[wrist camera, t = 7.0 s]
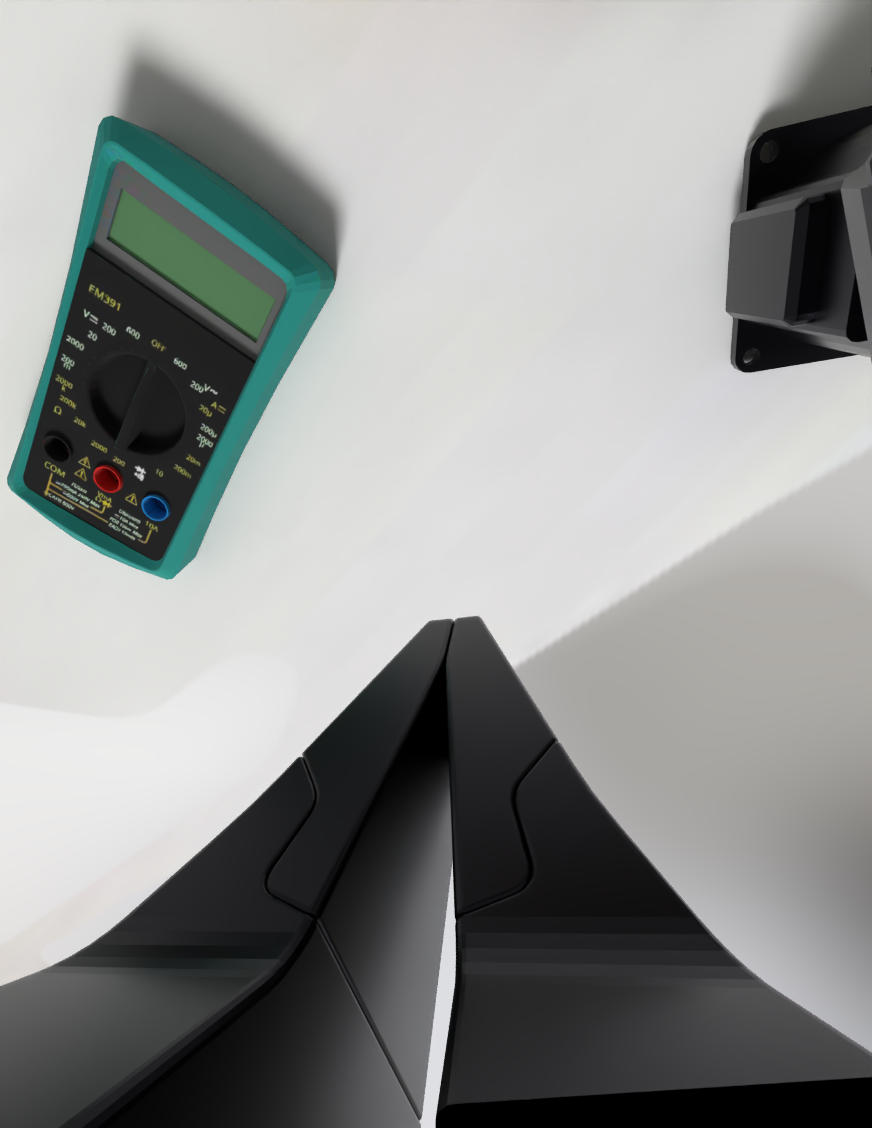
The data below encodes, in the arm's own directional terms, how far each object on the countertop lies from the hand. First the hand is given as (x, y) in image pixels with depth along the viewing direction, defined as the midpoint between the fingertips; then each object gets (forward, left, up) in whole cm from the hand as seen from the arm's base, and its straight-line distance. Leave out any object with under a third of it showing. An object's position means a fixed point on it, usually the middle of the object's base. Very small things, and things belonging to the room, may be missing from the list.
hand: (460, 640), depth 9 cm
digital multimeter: (+11, -4, -14) cm, 18 cm away
